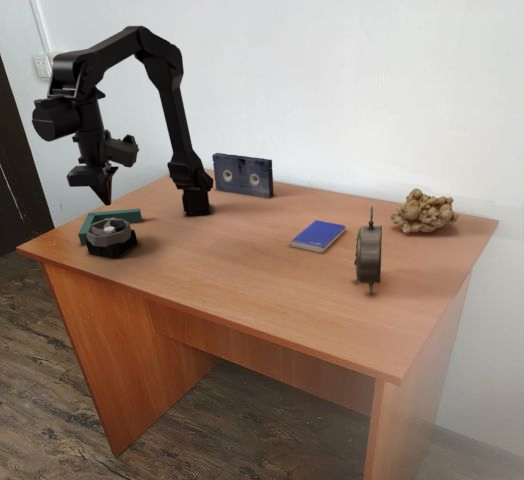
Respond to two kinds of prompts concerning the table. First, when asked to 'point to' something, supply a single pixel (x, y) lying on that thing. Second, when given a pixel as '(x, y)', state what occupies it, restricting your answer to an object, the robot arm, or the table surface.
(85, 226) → the corner stop
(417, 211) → the mineral formation
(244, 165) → the vhs cassette tape
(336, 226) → the blue book
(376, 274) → the alarm clock
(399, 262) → the table surface
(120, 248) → the cpu cooler
